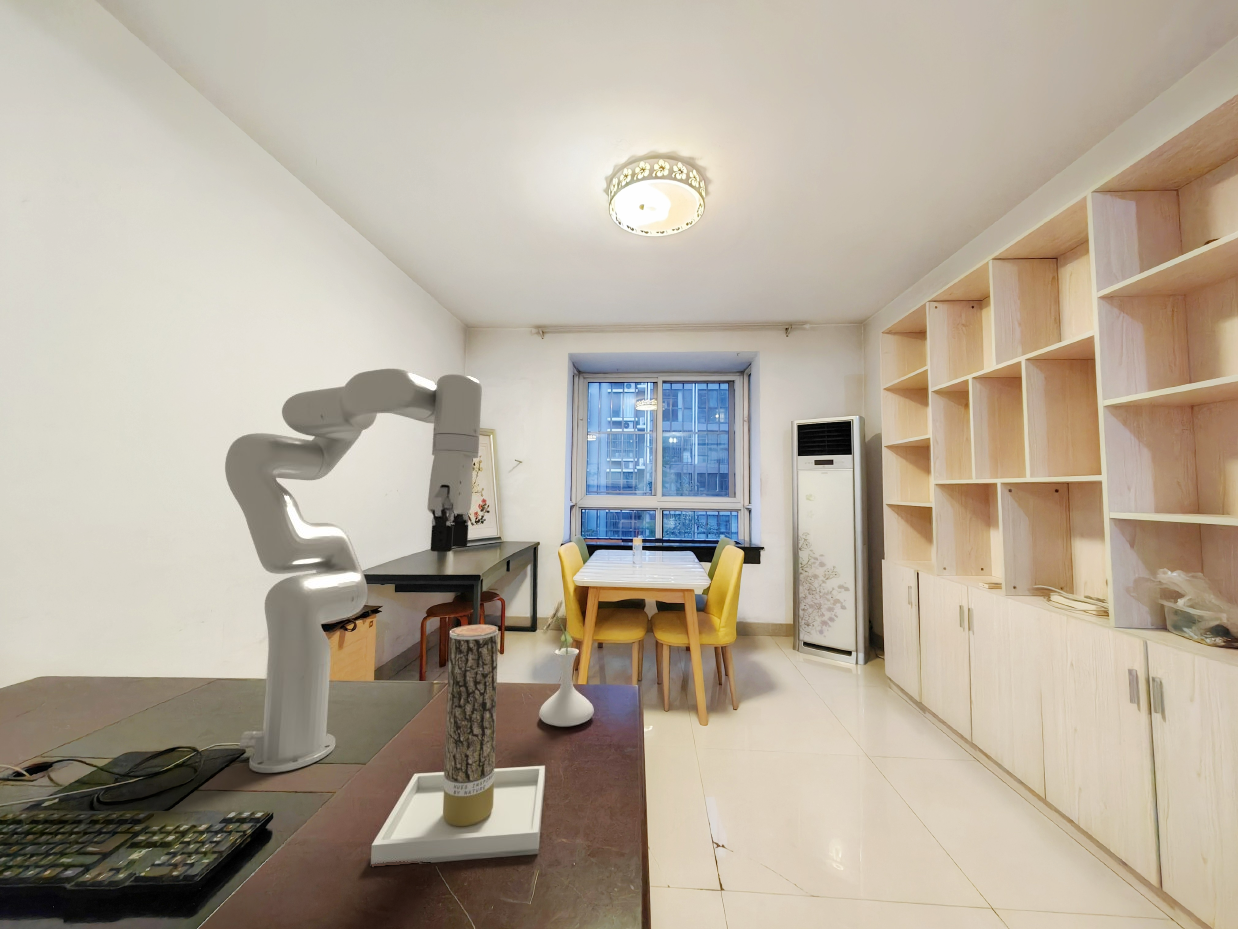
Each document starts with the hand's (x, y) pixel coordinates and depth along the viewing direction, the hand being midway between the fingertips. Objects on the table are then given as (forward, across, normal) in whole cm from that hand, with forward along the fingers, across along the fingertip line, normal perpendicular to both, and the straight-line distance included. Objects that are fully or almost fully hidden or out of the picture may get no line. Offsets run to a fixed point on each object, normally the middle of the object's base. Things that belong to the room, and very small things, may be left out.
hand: (450, 548), depth 79 cm
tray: (+36, +10, +8) cm, 39 cm away
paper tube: (+36, +10, +7) cm, 38 cm away
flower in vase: (+37, -20, +20) cm, 46 cm away
